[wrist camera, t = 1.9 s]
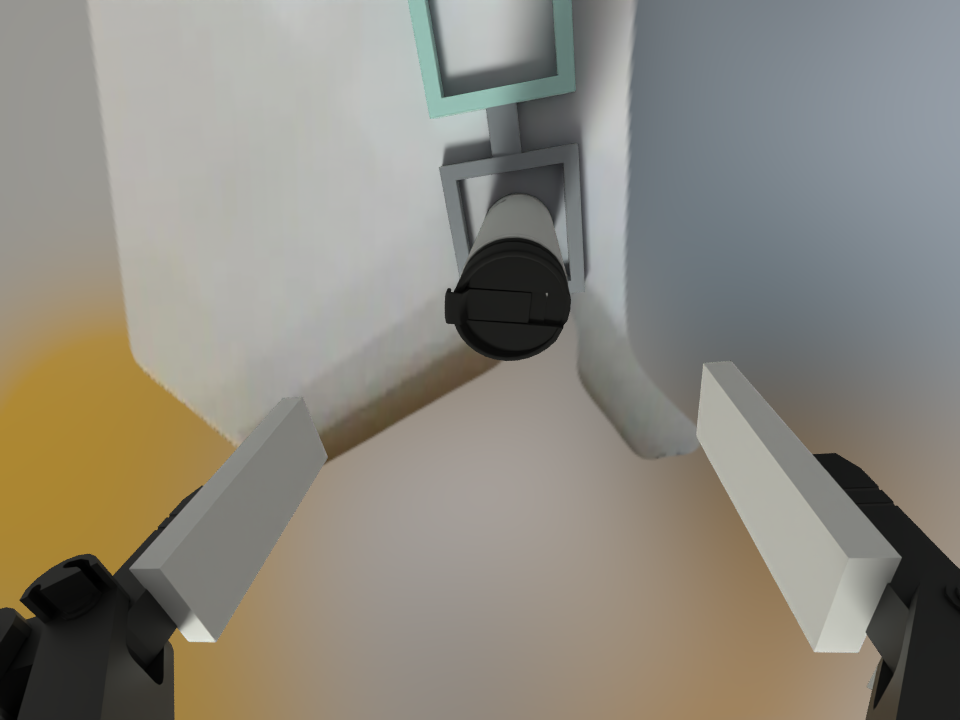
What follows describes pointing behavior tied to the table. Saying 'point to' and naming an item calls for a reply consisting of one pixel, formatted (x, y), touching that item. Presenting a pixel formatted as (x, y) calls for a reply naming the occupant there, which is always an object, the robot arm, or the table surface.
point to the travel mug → (512, 283)
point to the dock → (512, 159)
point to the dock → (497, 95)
